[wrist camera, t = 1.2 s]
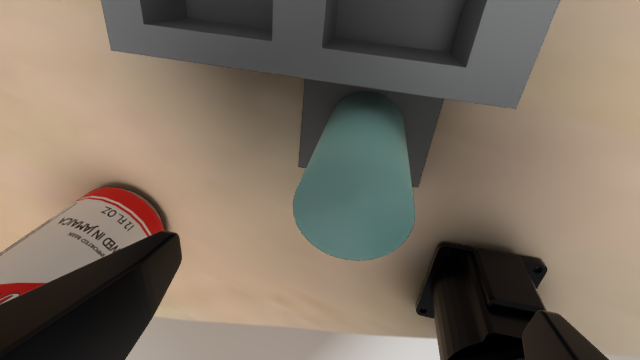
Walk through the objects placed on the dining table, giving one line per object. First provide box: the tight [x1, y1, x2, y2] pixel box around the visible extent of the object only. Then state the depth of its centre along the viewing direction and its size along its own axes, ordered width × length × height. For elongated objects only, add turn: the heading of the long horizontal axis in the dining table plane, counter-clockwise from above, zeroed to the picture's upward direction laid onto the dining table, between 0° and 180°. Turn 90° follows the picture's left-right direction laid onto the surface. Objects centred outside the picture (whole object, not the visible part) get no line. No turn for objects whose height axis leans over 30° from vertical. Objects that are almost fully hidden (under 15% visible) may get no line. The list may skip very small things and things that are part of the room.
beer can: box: [0, 187, 164, 304], centre depth 18 cm, size 6×6×16 cm
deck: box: [298, 79, 444, 187], centre depth 18 cm, size 6×7×1 cm
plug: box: [293, 91, 415, 261], centre depth 14 cm, size 4×4×8 cm
